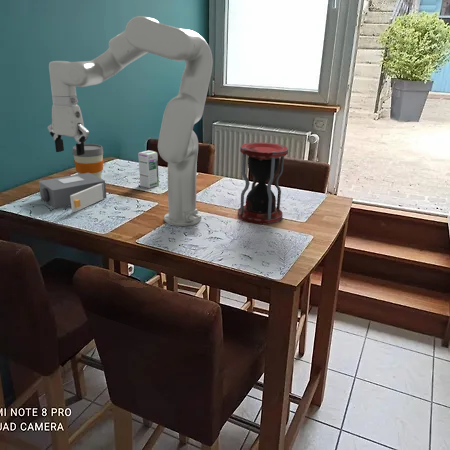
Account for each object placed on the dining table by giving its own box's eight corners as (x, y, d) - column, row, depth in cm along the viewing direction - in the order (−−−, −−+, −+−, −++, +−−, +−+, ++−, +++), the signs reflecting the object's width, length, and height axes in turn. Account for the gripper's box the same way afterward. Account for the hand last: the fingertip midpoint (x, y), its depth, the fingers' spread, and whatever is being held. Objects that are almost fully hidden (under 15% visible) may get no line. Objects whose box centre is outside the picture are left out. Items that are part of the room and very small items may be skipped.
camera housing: (106, 198, 167) (105, 180, 164) (52, 209, 154) (49, 190, 151) (90, 189, 177) (88, 172, 174) (37, 199, 163) (35, 181, 161)
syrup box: (149, 188, 180) (147, 154, 174) (139, 185, 183) (137, 151, 177) (159, 185, 184) (158, 151, 178) (149, 182, 187) (148, 149, 182)
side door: (107, 198, 165) (106, 183, 163) (76, 212, 150) (75, 196, 148) (102, 197, 166) (101, 182, 163) (71, 211, 151) (69, 195, 149)
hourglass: (230, 210, 158) (233, 143, 149) (270, 206, 164) (275, 141, 154) (248, 227, 144) (252, 153, 135) (290, 221, 150) (297, 151, 140)
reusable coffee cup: (109, 178, 192) (107, 144, 186) (99, 186, 180) (96, 151, 174) (82, 176, 193) (79, 143, 187) (70, 184, 181) (66, 149, 175)
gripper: (93, 102, 141) (97, 154, 148) (52, 98, 148) (58, 148, 154) (78, 104, 135) (83, 158, 142) (36, 100, 141) (42, 152, 148)
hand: (70, 152), depth 148 cm, fingers open, 8 cm apart
